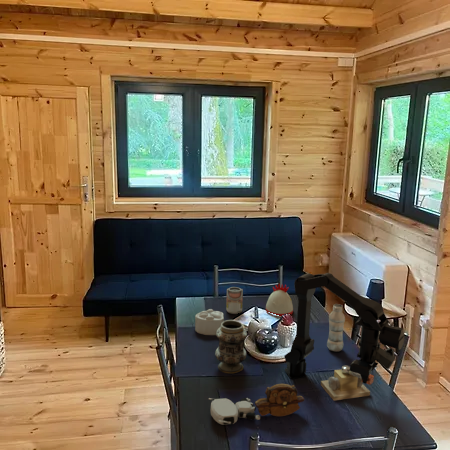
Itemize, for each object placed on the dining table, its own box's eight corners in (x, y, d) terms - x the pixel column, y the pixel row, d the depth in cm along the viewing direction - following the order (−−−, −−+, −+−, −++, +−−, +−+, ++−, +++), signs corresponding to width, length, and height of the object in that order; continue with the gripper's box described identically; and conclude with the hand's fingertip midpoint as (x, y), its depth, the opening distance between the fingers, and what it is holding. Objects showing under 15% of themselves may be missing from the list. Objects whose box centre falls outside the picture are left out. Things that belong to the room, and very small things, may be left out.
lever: (373, 381, 151) (374, 375, 151) (369, 385, 149) (370, 378, 149) (344, 369, 159) (344, 363, 158) (339, 373, 156) (340, 366, 156)
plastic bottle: (343, 354, 183) (346, 309, 179) (326, 352, 185) (329, 307, 181) (342, 347, 190) (345, 303, 185) (326, 345, 191) (329, 302, 187)
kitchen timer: (290, 318, 218) (292, 289, 215) (263, 314, 222) (264, 286, 219) (294, 308, 232) (295, 280, 228) (268, 304, 235) (269, 278, 232)
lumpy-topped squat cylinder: (223, 335, 199) (223, 317, 197) (194, 334, 198) (194, 317, 197) (223, 325, 209) (223, 308, 207) (195, 325, 209) (195, 307, 207)
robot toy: (248, 404, 150) (205, 408, 145) (249, 392, 149) (207, 396, 145) (261, 427, 138) (215, 432, 134) (263, 414, 138) (217, 419, 133)
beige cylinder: (242, 315, 220) (243, 293, 218) (225, 315, 220) (226, 292, 218) (242, 308, 229) (242, 286, 227) (226, 308, 229) (226, 286, 227)
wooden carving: (258, 423, 139) (259, 394, 137) (253, 414, 143) (254, 386, 141) (305, 414, 144) (307, 387, 142) (299, 406, 148) (301, 379, 146)
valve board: (333, 400, 151) (335, 383, 150) (320, 384, 161) (321, 368, 160) (369, 395, 155) (371, 378, 154) (354, 380, 164) (356, 363, 163)
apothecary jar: (252, 367, 172) (253, 324, 168) (231, 379, 163) (232, 334, 160) (229, 356, 180) (230, 315, 176) (208, 367, 171) (209, 324, 168)
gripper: (387, 357, 135) (381, 403, 137) (401, 337, 150) (395, 379, 153) (351, 346, 141) (346, 391, 143) (368, 328, 156) (363, 369, 159)
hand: (364, 382), depth 149 cm, fingers closed
